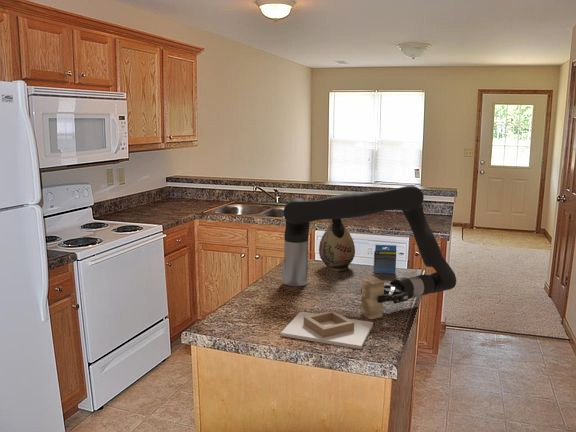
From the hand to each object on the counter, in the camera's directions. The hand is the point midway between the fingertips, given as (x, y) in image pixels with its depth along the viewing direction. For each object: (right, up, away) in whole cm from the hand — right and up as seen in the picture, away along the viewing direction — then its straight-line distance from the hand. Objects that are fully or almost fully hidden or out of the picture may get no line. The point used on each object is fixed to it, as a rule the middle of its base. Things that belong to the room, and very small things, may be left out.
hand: (369, 295), depth 164 cm
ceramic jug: (-6, +3, +53) cm, 54 cm away
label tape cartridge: (+14, +2, +49) cm, 51 cm away
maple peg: (+1, -7, +2) cm, 7 cm away
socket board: (-14, -9, -11) cm, 20 cm away
